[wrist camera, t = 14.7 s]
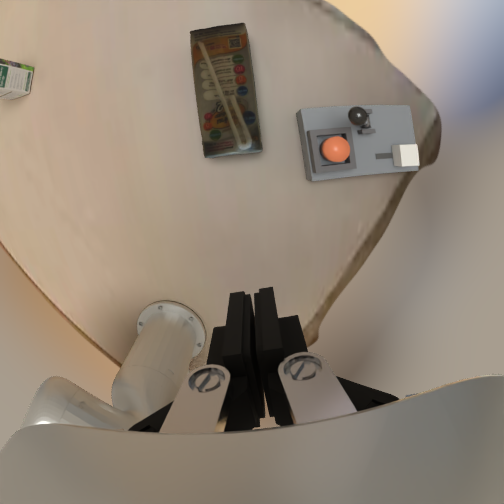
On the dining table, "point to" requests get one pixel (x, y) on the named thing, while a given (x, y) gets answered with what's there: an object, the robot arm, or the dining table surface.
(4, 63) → the syrup box
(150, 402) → the robot arm
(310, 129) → the panel
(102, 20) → the dining table surface
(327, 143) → the button
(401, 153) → the slider
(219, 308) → the dining table surface
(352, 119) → the lever
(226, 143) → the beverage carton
